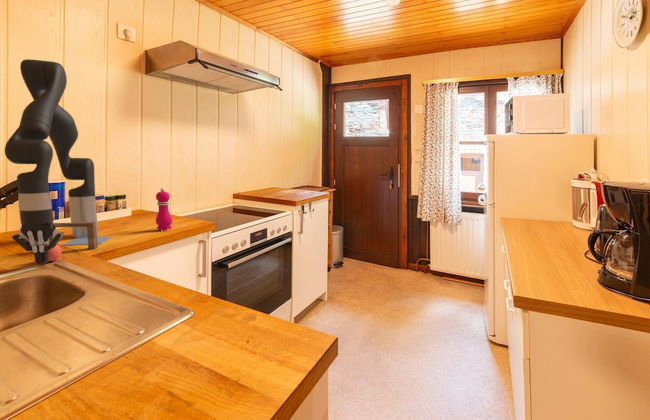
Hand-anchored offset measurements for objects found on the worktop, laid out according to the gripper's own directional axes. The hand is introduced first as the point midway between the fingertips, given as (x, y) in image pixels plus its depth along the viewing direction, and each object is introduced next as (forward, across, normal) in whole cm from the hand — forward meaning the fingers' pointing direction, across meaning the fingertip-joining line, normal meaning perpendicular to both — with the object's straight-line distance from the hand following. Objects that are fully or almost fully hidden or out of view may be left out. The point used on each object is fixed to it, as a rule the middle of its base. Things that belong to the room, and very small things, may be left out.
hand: (42, 263), depth 104 cm
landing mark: (+1, 0, -35) cm, 35 cm away
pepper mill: (+2, -25, -54) cm, 59 cm away
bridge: (+1, 0, -21) cm, 21 cm away
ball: (-2, 0, -5) cm, 5 cm away
